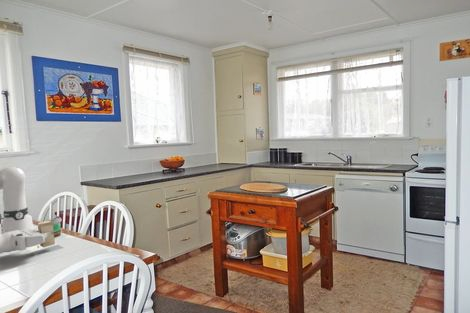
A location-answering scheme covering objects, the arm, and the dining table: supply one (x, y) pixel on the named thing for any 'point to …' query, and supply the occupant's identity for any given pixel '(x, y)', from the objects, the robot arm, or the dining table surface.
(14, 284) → the dining table surface
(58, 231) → the food container
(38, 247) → the board
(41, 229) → the birch block
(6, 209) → the robot arm
